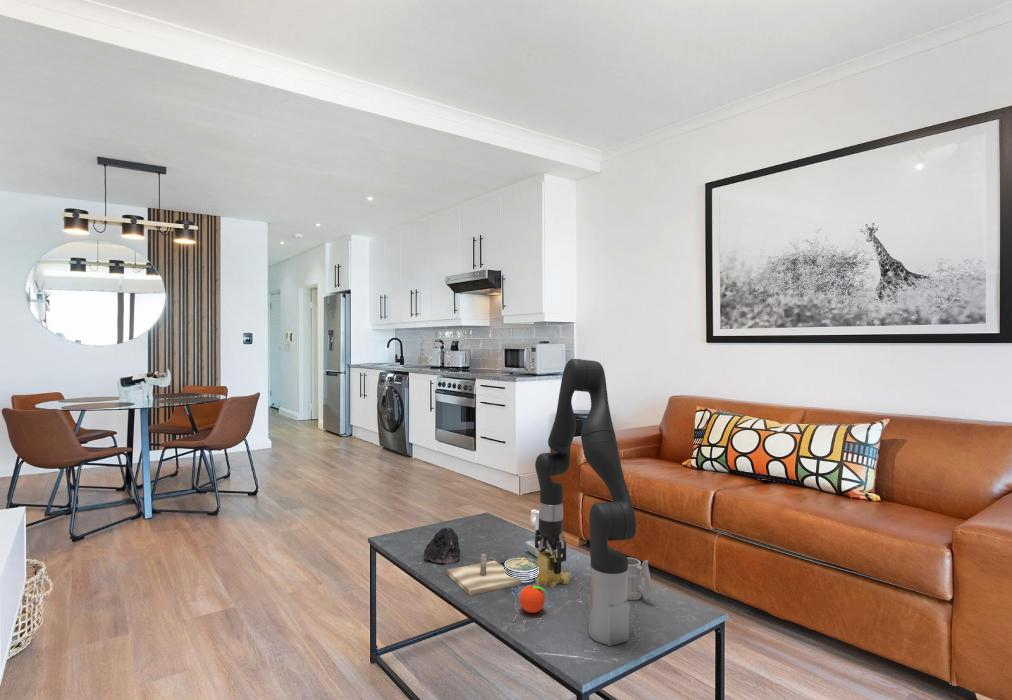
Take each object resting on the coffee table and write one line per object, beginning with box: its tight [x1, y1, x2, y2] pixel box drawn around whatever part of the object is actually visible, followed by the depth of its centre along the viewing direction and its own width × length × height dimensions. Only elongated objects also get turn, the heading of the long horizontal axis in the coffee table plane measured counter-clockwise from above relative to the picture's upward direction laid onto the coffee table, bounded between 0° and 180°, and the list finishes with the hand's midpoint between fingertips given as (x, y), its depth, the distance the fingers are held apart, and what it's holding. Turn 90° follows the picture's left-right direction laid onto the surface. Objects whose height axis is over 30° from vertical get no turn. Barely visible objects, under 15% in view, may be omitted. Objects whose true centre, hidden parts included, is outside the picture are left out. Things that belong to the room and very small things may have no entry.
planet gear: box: [535, 551, 572, 588], centre depth 177 cm, size 12×12×8 cm
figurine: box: [524, 509, 549, 558], centre depth 198 cm, size 7×9×15 cm
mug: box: [626, 556, 653, 601], centre depth 165 cm, size 8×12×12 cm, turn 37°
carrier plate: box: [446, 553, 522, 596], centre depth 175 cm, size 17×17×8 cm
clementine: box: [518, 584, 550, 614], centre depth 155 cm, size 8×7×7 cm
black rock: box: [423, 527, 461, 565], centre depth 193 cm, size 13×14×10 cm
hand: (549, 568), depth 177 cm, fingers open, 8 cm apart
